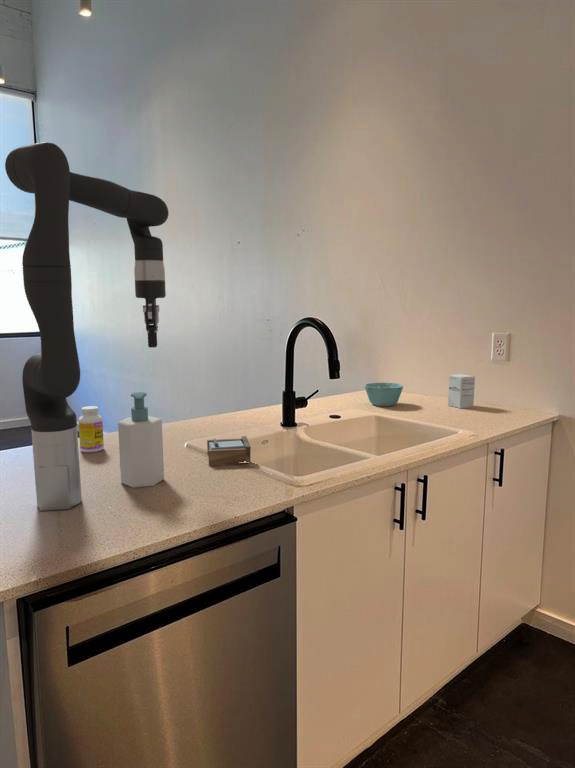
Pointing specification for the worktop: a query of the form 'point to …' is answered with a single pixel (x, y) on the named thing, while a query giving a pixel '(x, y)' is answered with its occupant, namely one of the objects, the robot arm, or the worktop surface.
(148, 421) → the soap bottle
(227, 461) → the bay
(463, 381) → the supplement box
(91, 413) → the supplement bottle
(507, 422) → the worktop surface
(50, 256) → the robot arm
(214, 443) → the blue slab with ledge
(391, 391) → the bowl
